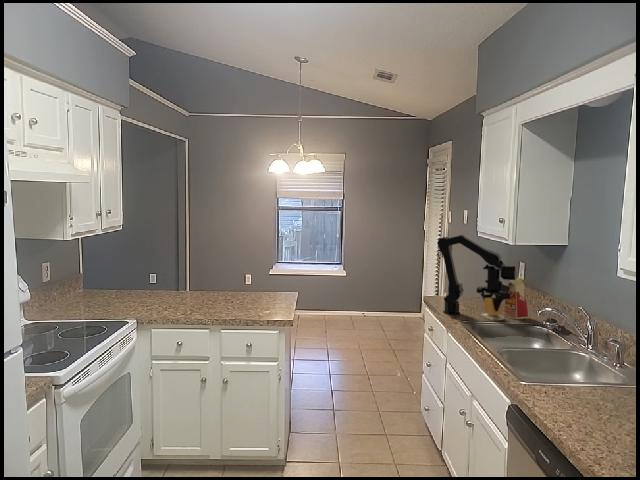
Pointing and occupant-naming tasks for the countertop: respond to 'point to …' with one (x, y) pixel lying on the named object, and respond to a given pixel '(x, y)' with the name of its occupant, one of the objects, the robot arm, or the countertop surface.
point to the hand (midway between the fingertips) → (492, 309)
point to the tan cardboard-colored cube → (491, 307)
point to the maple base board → (492, 317)
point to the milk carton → (516, 301)
